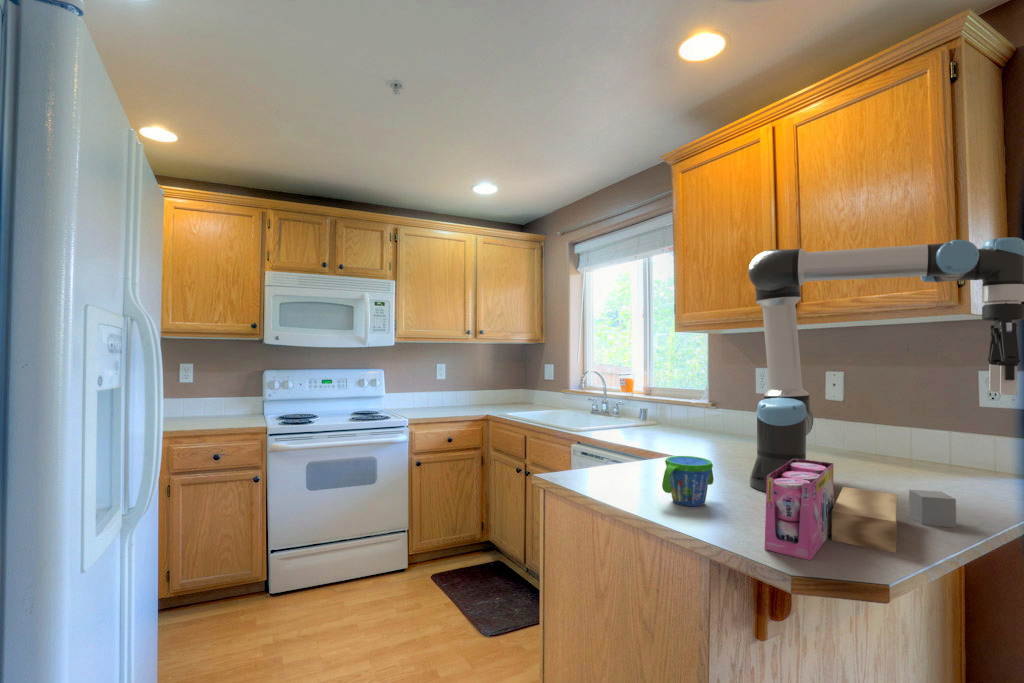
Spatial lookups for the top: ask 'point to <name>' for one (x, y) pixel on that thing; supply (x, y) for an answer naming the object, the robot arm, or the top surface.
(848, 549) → the top surface
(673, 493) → the snack cup
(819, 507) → the gum box
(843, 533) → the oak block
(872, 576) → the top surface
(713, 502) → the top surface
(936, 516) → the grey block
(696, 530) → the top surface
